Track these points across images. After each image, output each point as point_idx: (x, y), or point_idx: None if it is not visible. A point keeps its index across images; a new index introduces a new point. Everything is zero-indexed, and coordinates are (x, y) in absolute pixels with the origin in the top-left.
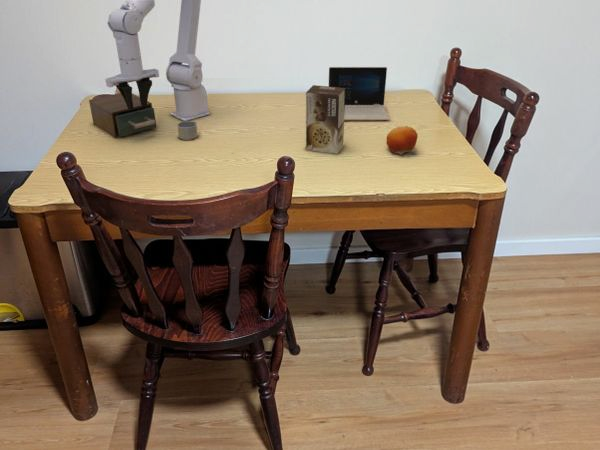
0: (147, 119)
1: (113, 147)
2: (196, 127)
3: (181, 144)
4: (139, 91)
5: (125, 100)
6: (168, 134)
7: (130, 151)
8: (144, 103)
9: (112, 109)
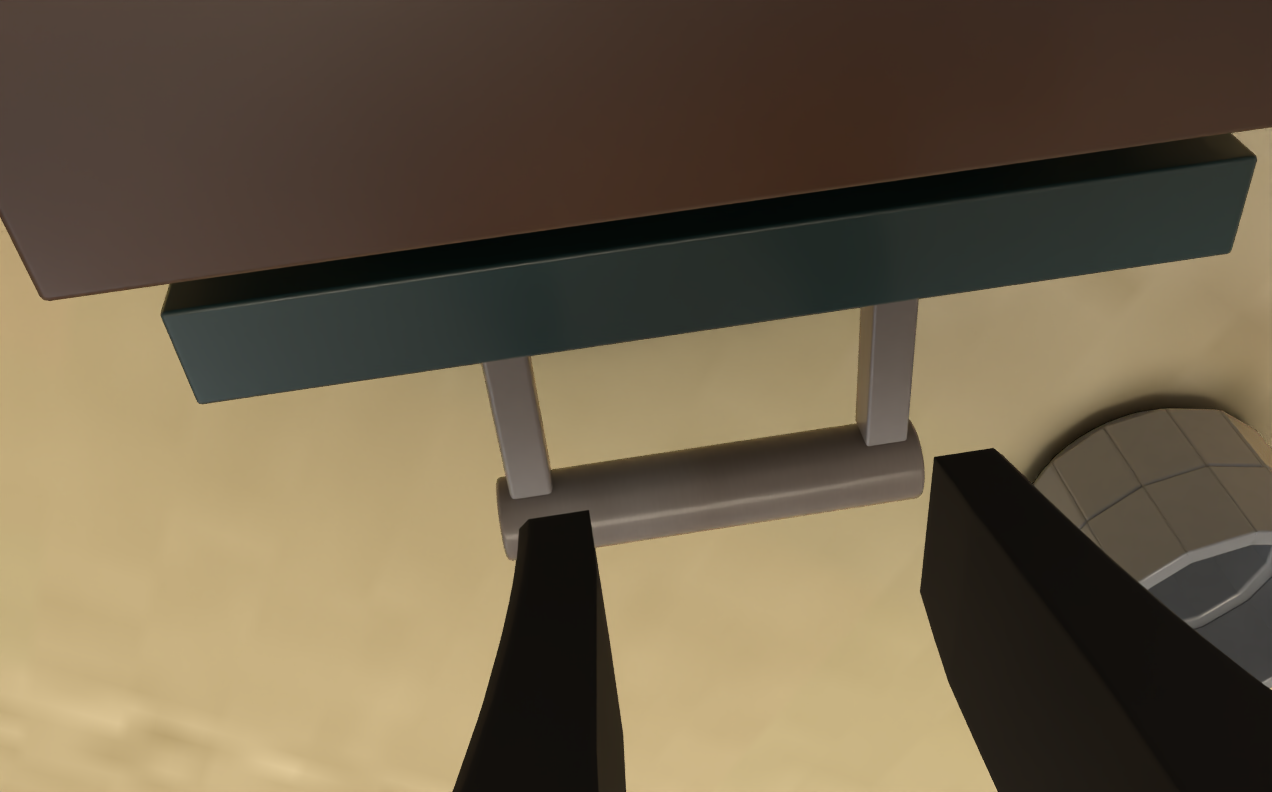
0: (866, 338)
1: (85, 356)
2: (1258, 652)
3: (921, 619)
4: (1131, 778)
5: (502, 714)
6: (1013, 299)
7: (304, 559)
8: (949, 675)
9: (114, 29)
